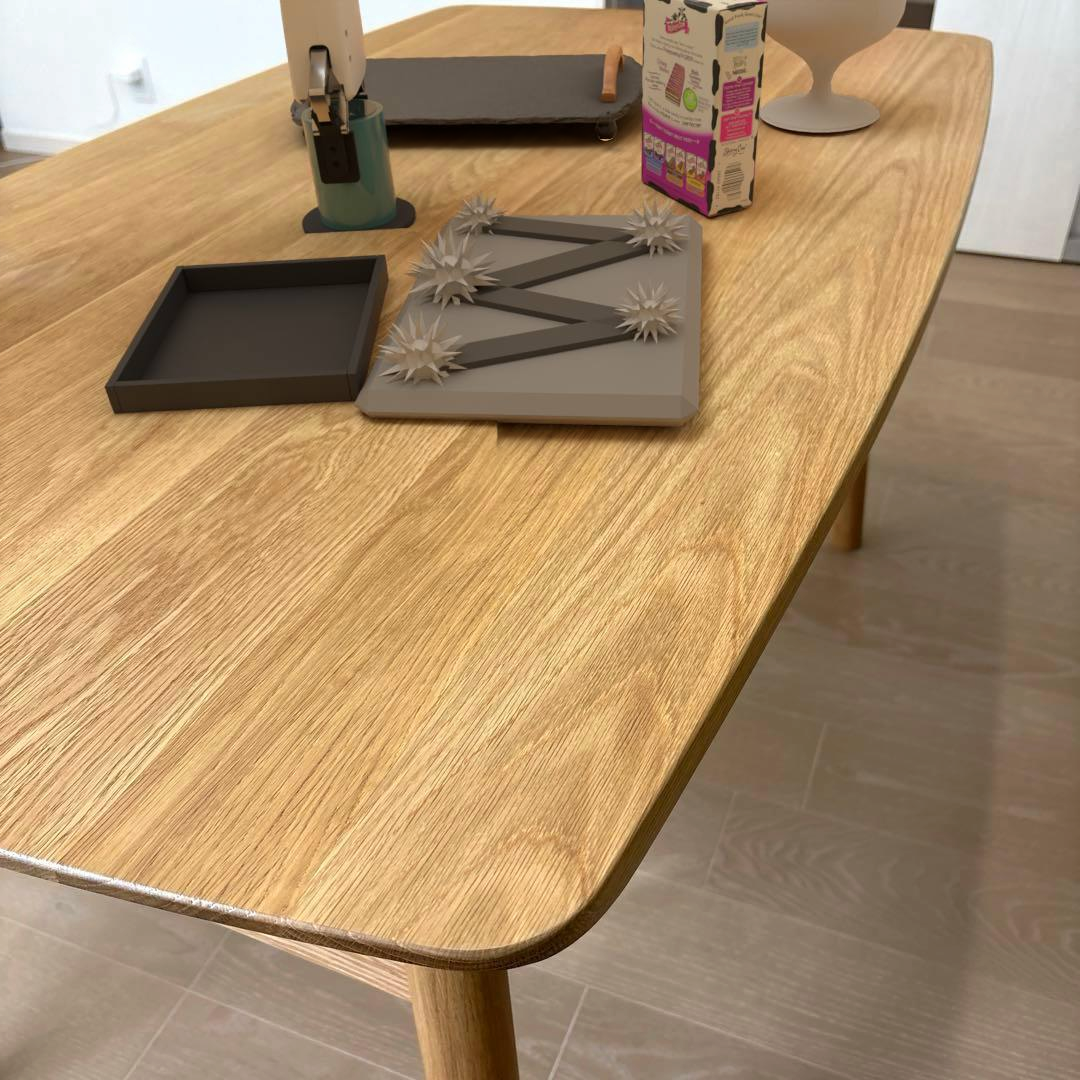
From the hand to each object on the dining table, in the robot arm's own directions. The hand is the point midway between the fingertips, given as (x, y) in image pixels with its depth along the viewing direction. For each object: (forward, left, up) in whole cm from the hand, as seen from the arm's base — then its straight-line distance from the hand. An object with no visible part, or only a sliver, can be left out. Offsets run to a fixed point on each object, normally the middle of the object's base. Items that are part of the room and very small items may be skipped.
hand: (349, 161), depth 91 cm
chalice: (+45, +21, -5) cm, 50 cm away
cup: (0, 0, -5) cm, 5 cm away
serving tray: (+9, +29, -5) cm, 31 cm away
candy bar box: (+30, +2, -6) cm, 31 cm away
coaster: (0, 0, -5) cm, 5 cm away
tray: (-4, -23, -5) cm, 24 cm away
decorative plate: (+17, -21, -5) cm, 28 cm away
